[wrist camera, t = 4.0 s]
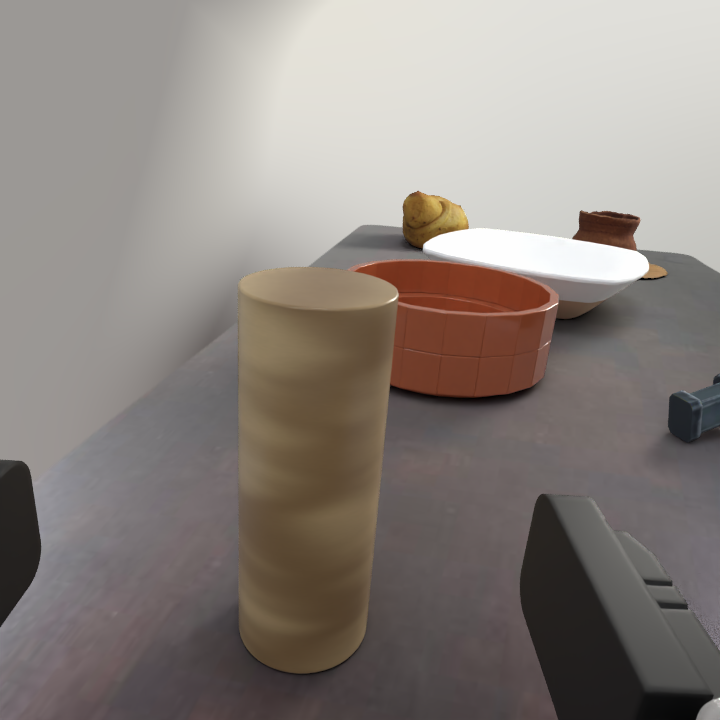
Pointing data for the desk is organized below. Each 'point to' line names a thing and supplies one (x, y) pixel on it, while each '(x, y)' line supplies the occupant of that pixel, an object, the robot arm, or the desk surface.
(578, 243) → the bowl
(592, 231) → the ceramic pot
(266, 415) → the tan cylinder
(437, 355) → the clay bowl
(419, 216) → the bread roll
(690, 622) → the robot arm
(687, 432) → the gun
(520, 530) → the desk surface
